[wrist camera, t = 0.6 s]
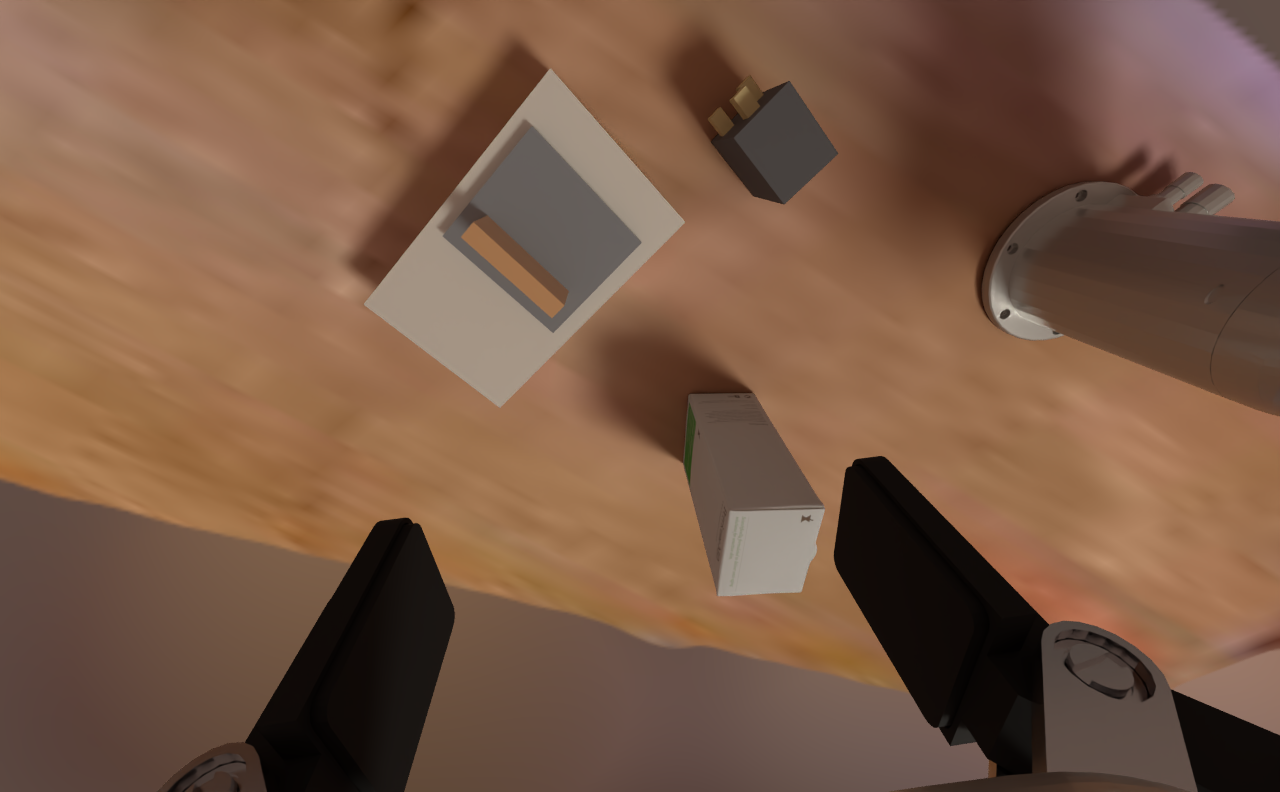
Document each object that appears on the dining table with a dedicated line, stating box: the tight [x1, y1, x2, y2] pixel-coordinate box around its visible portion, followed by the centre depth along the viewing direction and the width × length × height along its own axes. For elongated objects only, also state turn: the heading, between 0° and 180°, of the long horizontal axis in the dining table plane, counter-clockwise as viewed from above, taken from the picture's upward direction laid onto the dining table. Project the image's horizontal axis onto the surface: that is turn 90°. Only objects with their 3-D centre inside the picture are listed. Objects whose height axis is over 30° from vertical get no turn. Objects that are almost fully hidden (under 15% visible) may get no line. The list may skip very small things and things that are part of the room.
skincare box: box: [683, 393, 825, 596], centre depth 37 cm, size 8×7×16 cm
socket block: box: [364, 68, 685, 408], centre depth 34 cm, size 20×12×4 cm, turn 134°
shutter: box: [443, 126, 642, 333], centre depth 30 cm, size 9×10×4 cm
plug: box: [708, 76, 838, 204], centre depth 30 cm, size 4×6×7 cm, turn 44°
